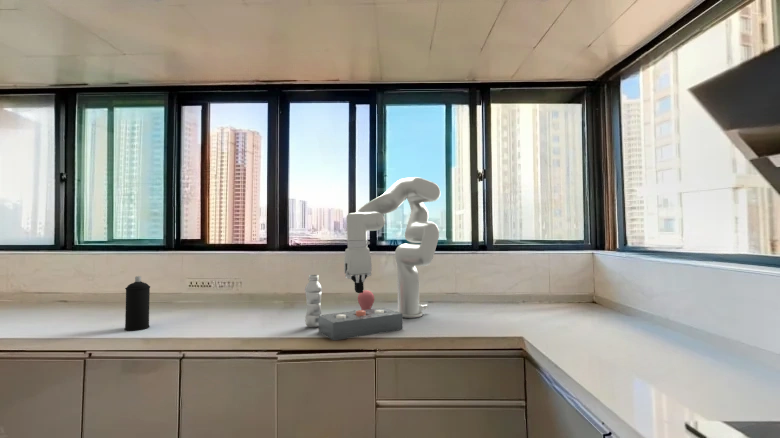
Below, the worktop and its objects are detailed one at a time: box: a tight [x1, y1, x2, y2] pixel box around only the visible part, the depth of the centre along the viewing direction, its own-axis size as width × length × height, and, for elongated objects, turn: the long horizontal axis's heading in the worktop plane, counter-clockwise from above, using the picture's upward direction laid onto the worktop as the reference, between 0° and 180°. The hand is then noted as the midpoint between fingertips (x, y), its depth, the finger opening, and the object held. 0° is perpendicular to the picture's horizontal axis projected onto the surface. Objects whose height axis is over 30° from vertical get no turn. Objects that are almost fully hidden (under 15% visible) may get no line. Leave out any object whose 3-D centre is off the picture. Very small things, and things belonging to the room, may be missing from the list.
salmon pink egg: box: [355, 309, 366, 316], centre depth 144 cm, size 4×4×6 cm
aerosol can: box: [124, 275, 151, 332], centre depth 149 cm, size 8×8×20 cm
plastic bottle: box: [304, 274, 323, 328], centre depth 150 cm, size 6×7×20 cm
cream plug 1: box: [336, 314, 346, 319], centre depth 140 cm, size 4×4×6 cm
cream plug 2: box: [375, 310, 384, 314], centre depth 148 cm, size 4×4×6 cm
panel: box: [318, 307, 404, 341], centre depth 144 cm, size 28×14×6 cm, turn 121°
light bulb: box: [357, 289, 375, 310], centre depth 164 cm, size 7×7×12 cm
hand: (359, 292), depth 148 cm, fingers closed
